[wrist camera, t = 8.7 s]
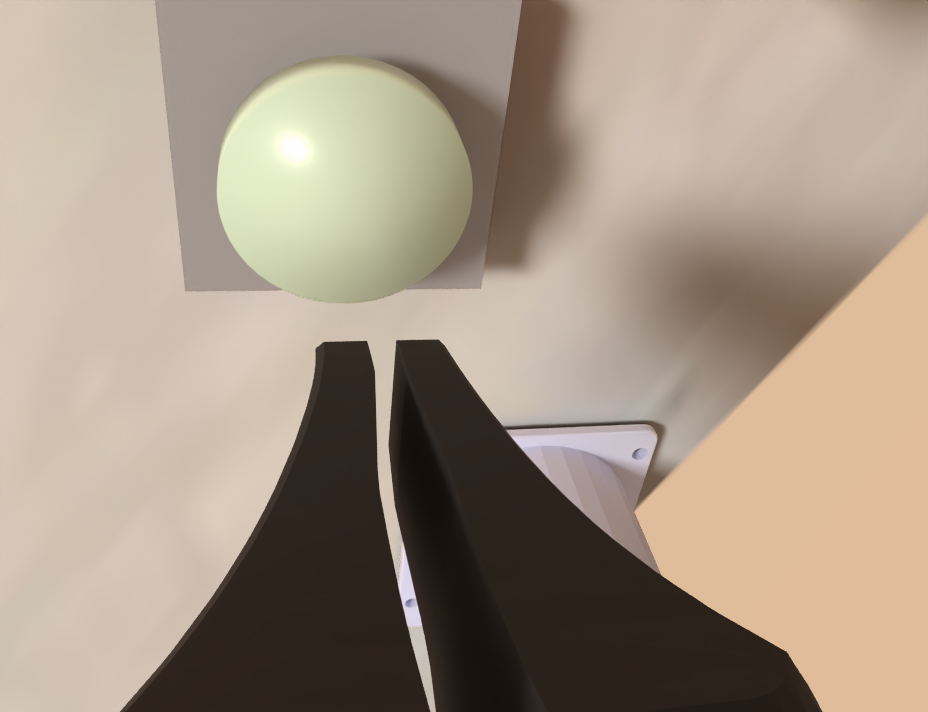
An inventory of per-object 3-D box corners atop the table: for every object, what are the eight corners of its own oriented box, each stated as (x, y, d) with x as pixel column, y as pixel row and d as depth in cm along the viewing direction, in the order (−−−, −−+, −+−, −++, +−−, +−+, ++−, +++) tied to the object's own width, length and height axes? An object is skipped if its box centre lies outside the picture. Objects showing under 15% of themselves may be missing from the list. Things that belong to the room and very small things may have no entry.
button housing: (466, 246, 23) (481, 288, 22) (190, 246, 22) (185, 291, 20) (501, -34, 19) (522, -5, 17) (162, -57, 18) (152, -28, 16)
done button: (439, 237, 22) (459, 302, 19) (228, 236, 20) (225, 305, 18) (461, 29, 18) (487, 80, 16) (214, 17, 17) (207, 69, 15)
